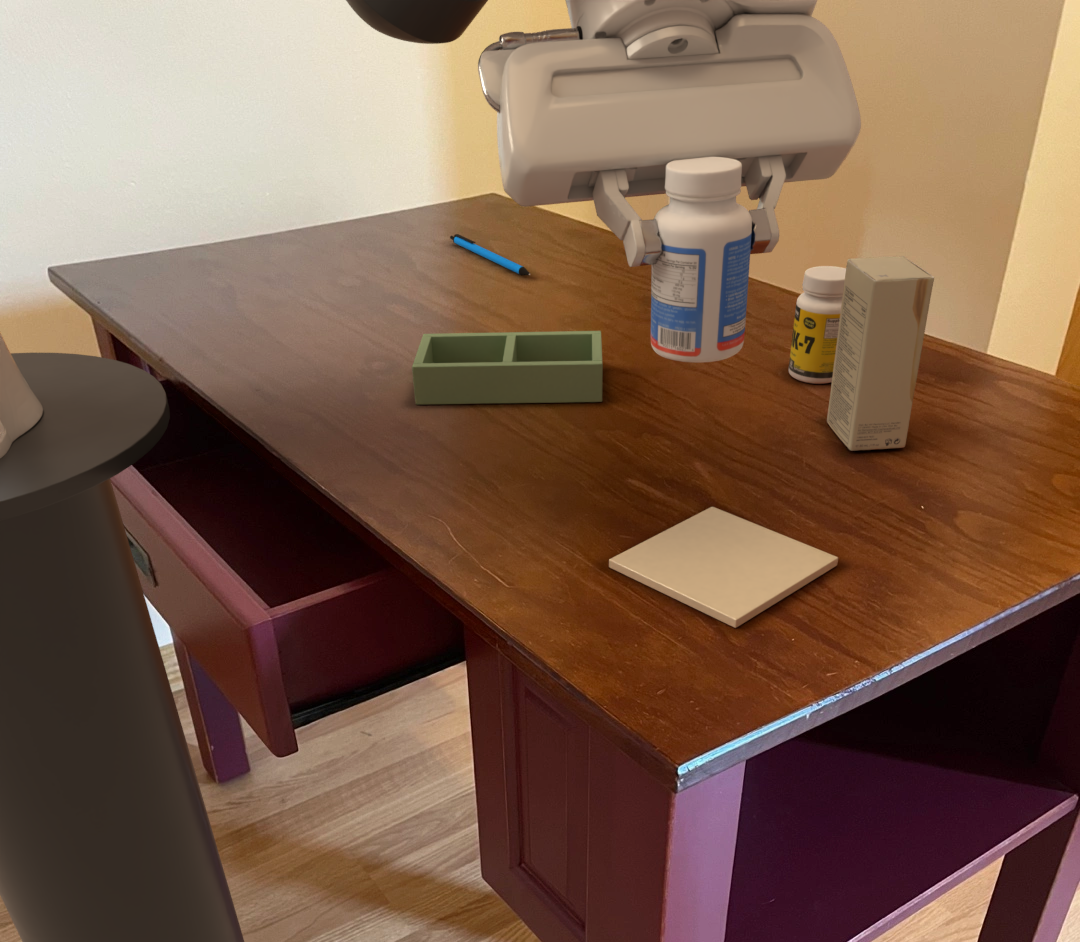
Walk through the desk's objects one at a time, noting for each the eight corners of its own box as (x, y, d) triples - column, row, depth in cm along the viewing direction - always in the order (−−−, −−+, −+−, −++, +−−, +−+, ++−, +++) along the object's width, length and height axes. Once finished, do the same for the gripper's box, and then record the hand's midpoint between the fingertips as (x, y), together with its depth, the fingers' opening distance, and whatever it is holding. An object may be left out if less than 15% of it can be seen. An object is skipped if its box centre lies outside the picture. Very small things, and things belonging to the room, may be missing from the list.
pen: (455, 240, 130) (454, 230, 129) (533, 278, 117) (533, 267, 116) (448, 241, 130) (447, 231, 129) (526, 279, 116) (526, 268, 116)
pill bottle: (726, 329, 65) (739, 150, 59) (756, 360, 61) (773, 170, 55) (638, 337, 65) (642, 157, 59) (662, 369, 61) (669, 177, 55)
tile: (735, 628, 62) (736, 619, 61) (608, 567, 67) (608, 559, 67) (837, 565, 67) (838, 557, 67) (711, 514, 73) (712, 505, 72)
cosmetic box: (906, 450, 80) (939, 277, 72) (848, 453, 80) (875, 281, 72) (878, 416, 85) (905, 252, 78) (823, 420, 85) (846, 255, 77)
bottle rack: (602, 402, 89) (602, 363, 87) (415, 405, 89) (411, 366, 87) (600, 367, 95) (601, 330, 93) (426, 370, 96) (423, 333, 94)
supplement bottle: (777, 369, 94) (789, 267, 89) (826, 362, 95) (840, 261, 90) (805, 388, 90) (818, 283, 85) (855, 380, 91) (871, 276, 86)
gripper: (477, -10, 56) (530, 238, 54) (841, -30, 60) (900, 202, 58) (465, 79, 62) (513, 304, 60) (796, 55, 66) (849, 267, 64)
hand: (706, 254), depth 59 cm, fingers closed on pill bottle, 5 cm apart
